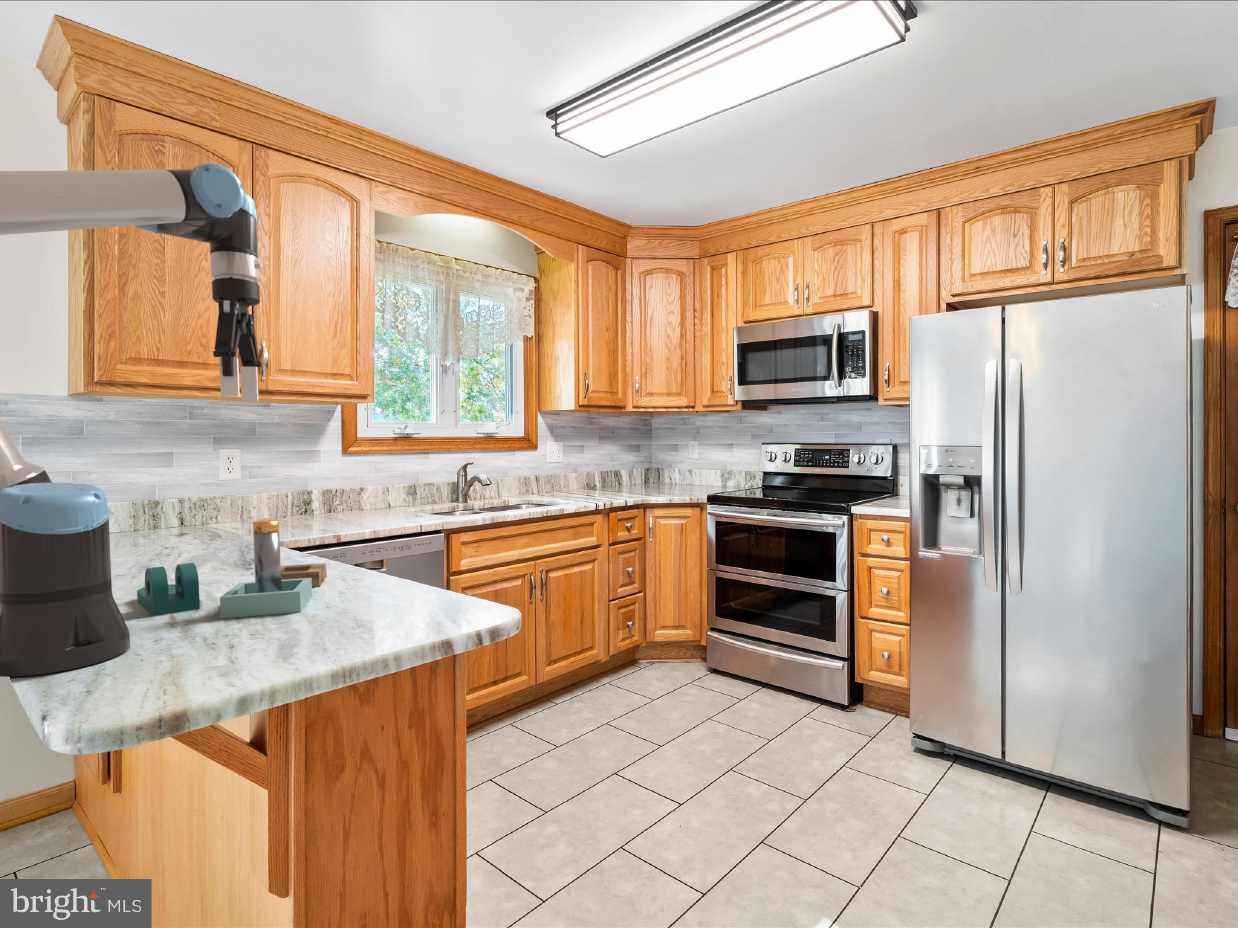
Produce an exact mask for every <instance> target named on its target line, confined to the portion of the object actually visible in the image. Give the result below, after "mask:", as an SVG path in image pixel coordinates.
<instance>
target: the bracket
mask: <svg viewBox="0 0 1238 928" xmlns="http://www.w3.org/2000/svg"><path fill="white" fill-rule="evenodd" d="M174 571H175V572H174V584H173V583H172V584H169V582H168V581H169V579H168V576H167V575H168V574H167V570H166V568H165V566H163V565H161V566H155V567H147V568H146V569H145V573H144V587H143V588H140V589H137V590H136V594H137V595H136V596H137V603H138V605H140V606H141V607H142V608H144V610H145V611H147V612H148V613H149V614H150V615H151V616H153V617H157V616H158V617H159V616H165V615H171V614H177V613H182V612H189V611H195V610H200V609H201V606H200V605H201V604H200V603H201V602H200V581H199V574H198V569H197V565H196V564H195V562H188V563H187V562H186V563H180V564H177V565H176V567H175V570H174Z"/></svg>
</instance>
